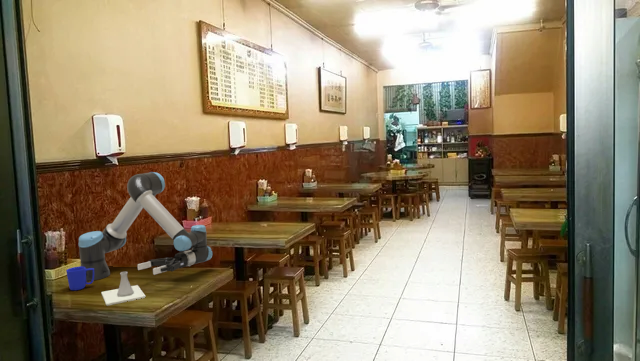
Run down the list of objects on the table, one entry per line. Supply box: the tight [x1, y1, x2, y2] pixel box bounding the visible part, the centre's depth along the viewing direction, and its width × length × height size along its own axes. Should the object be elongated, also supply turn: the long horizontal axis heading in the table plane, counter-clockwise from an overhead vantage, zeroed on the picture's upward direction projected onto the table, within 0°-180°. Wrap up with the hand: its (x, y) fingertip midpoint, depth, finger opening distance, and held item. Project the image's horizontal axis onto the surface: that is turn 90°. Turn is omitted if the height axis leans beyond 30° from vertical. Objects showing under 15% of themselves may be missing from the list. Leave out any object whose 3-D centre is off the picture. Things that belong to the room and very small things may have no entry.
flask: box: [117, 271, 134, 296], centre depth 209 cm, size 7×7×10 cm
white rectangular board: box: [101, 284, 146, 307], centre depth 209 cm, size 20×16×1 cm
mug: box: [66, 266, 95, 291], centre depth 224 cm, size 8×12×10 cm
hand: (145, 269), depth 216 cm, fingers open, 13 cm apart
